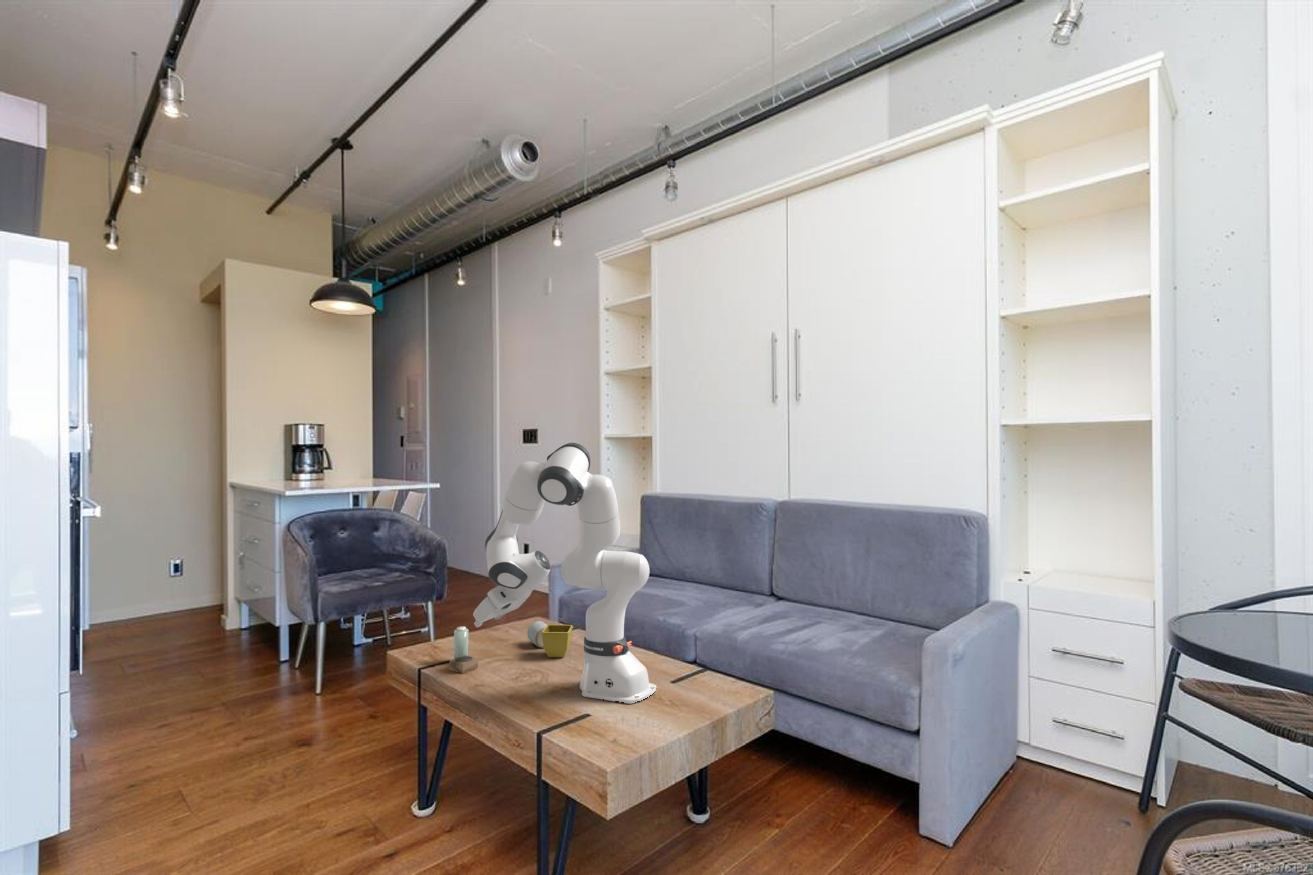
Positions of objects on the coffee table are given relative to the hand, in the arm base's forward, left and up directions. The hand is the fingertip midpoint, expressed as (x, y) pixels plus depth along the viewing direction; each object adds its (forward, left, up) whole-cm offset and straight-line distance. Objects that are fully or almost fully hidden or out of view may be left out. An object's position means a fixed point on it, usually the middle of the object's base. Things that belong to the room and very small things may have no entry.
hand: (486, 621), depth 202 cm
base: (+4, +5, -14) cm, 16 cm away
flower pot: (-11, -21, -14) cm, 28 cm away
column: (+11, +1, -14) cm, 18 cm away
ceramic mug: (0, -27, -14) cm, 31 cm away
